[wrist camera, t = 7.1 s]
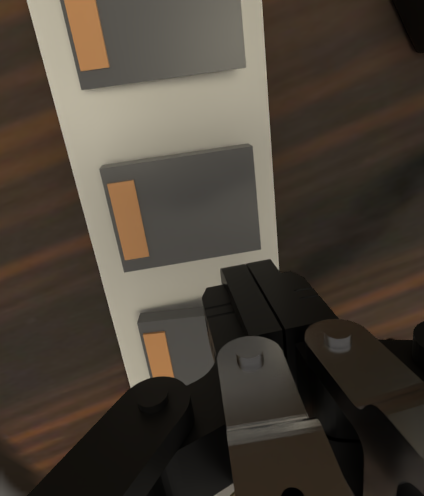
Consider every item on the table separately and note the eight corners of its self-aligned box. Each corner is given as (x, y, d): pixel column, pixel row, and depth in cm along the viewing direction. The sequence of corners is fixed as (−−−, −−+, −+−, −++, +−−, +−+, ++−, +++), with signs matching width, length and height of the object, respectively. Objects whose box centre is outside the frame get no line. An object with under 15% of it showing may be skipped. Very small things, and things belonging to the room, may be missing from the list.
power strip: (273, 369, 29) (289, 402, 26) (142, 399, 28) (142, 437, 25) (232, -148, 18) (252, -200, 15) (5, -133, 17) (-26, -185, 13)
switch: (244, 68, 17) (246, 67, 16) (88, 89, 17) (80, 90, 16) (231, -80, 15) (233, -92, 14) (55, -52, 15) (43, -62, 14)
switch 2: (270, 372, 24) (272, 386, 22) (156, 384, 24) (154, 398, 23) (263, 299, 22) (266, 310, 20) (140, 312, 22) (136, 324, 21)
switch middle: (256, 242, 21) (261, 250, 20) (125, 264, 20) (124, 273, 19) (248, 143, 19) (253, 146, 18) (102, 165, 18) (98, 169, 17)
